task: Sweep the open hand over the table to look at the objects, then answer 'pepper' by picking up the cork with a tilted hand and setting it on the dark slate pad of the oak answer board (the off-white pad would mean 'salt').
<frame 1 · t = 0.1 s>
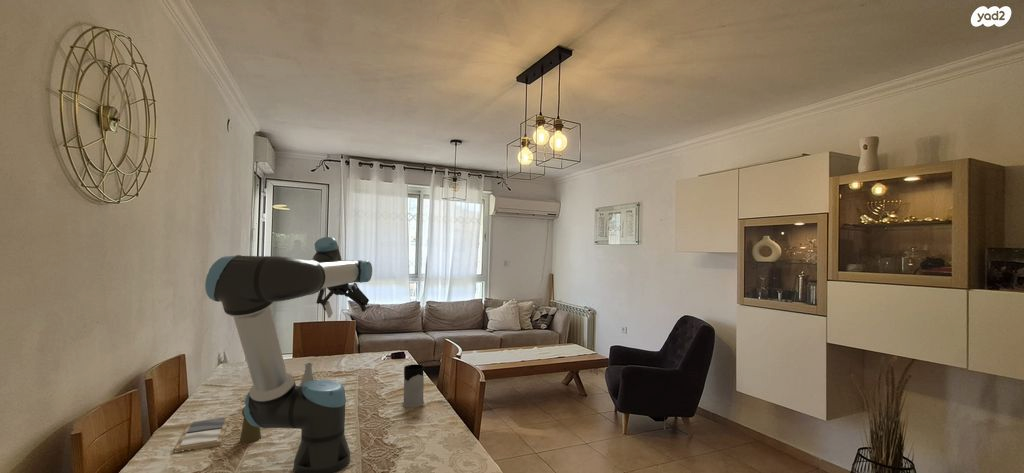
hand: (347, 316, 177), 36 cm above the table, tool tilted 35°, fingers open, 13 cm apart
glass holder: (410, 402, 181), on the table
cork: (250, 440, 144), on the table
answer board: (204, 435, 147), on the table
flask: (308, 385, 201), on the table
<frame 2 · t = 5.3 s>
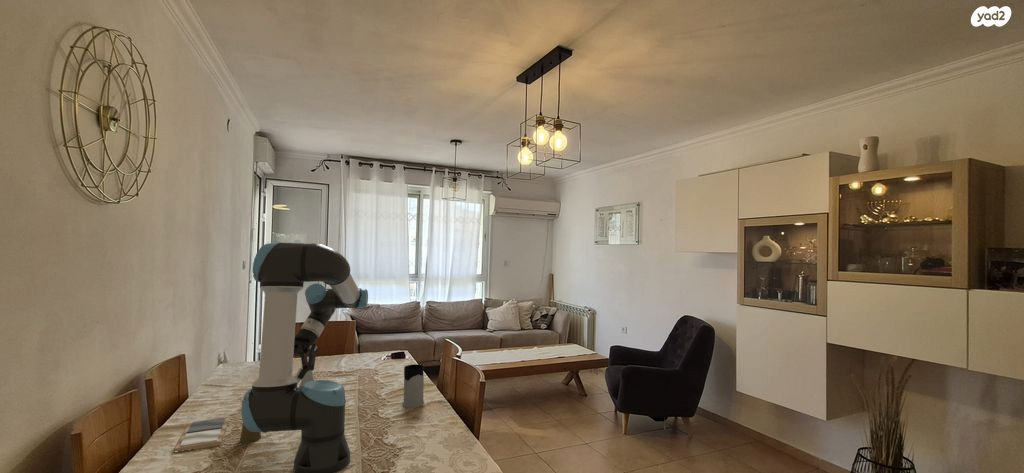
hand: (276, 384, 154), 15 cm above the table, tool tilted 45°, fingers open, 13 cm apart
nothing on the table moved.
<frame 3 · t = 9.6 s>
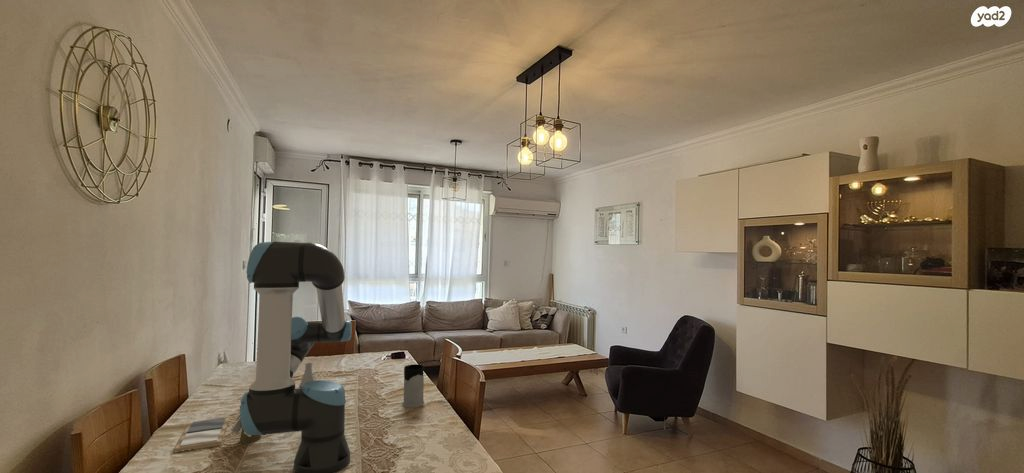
hand: (240, 433, 141), 3 cm above the table, tool tilted 45°, fingers closed on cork, 5 cm apart
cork: (250, 439, 144), on the table, touching gripper
everything else where it was.
when the fingers open (6 cm above the table, at t = 14.7 s): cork drops 1 cm, resting on answer board.
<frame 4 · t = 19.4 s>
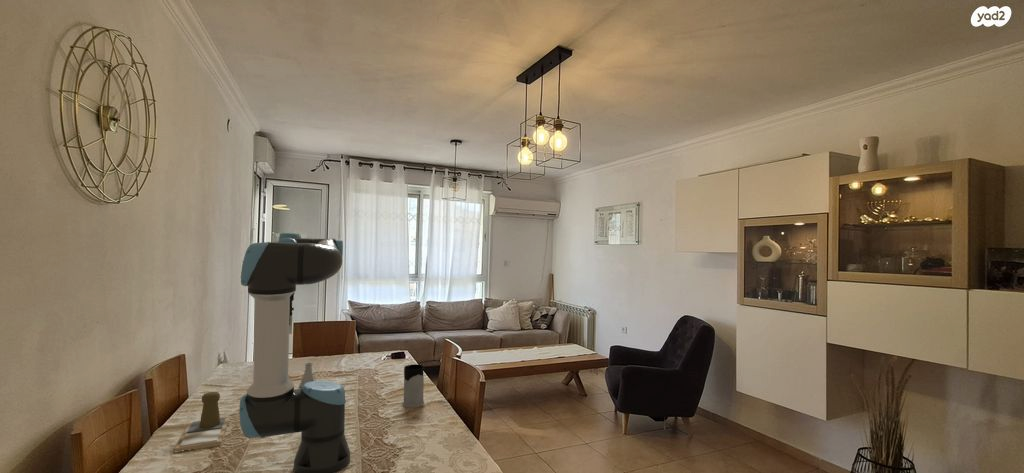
hand: (287, 331, 165), 32 cm above the table, tool pointing down, fingers open, 13 cm apart
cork: (209, 425, 151), point 1 cm above the table, touching answer board
everything else where it was.
at the end: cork inside the target area on the answer board (1.2 cm from its centre), point 1.4 cm above the answer board's base; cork tilted 0°; the gripper is holding nothing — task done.
